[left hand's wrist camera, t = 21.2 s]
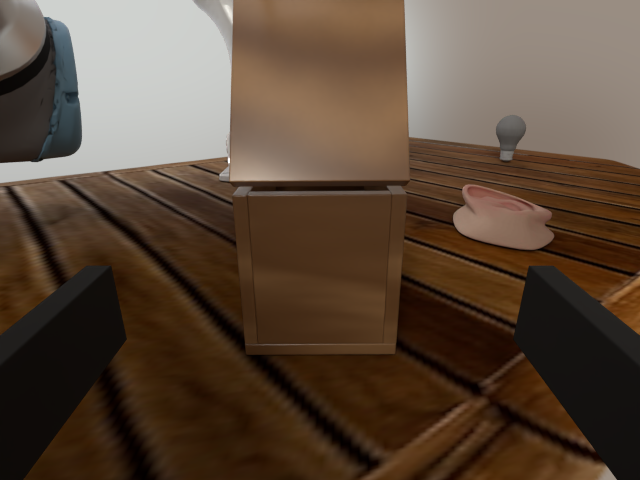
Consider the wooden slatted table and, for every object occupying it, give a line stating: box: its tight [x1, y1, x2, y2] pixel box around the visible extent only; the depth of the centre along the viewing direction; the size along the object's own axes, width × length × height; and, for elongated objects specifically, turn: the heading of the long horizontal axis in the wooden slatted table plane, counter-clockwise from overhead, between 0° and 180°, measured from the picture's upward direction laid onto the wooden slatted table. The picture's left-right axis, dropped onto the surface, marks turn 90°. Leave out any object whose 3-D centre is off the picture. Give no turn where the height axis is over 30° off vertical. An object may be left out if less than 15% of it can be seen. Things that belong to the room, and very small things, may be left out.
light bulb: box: [496, 115, 526, 161], centre depth 90 cm, size 6×6×10 cm
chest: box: [232, 186, 407, 355], centre depth 32 cm, size 16×10×11 cm, turn 0°
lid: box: [229, 0, 410, 187], centre depth 20 cm, size 16×10×8 cm
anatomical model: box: [453, 185, 554, 250], centre depth 49 cm, size 13×4×12 cm
